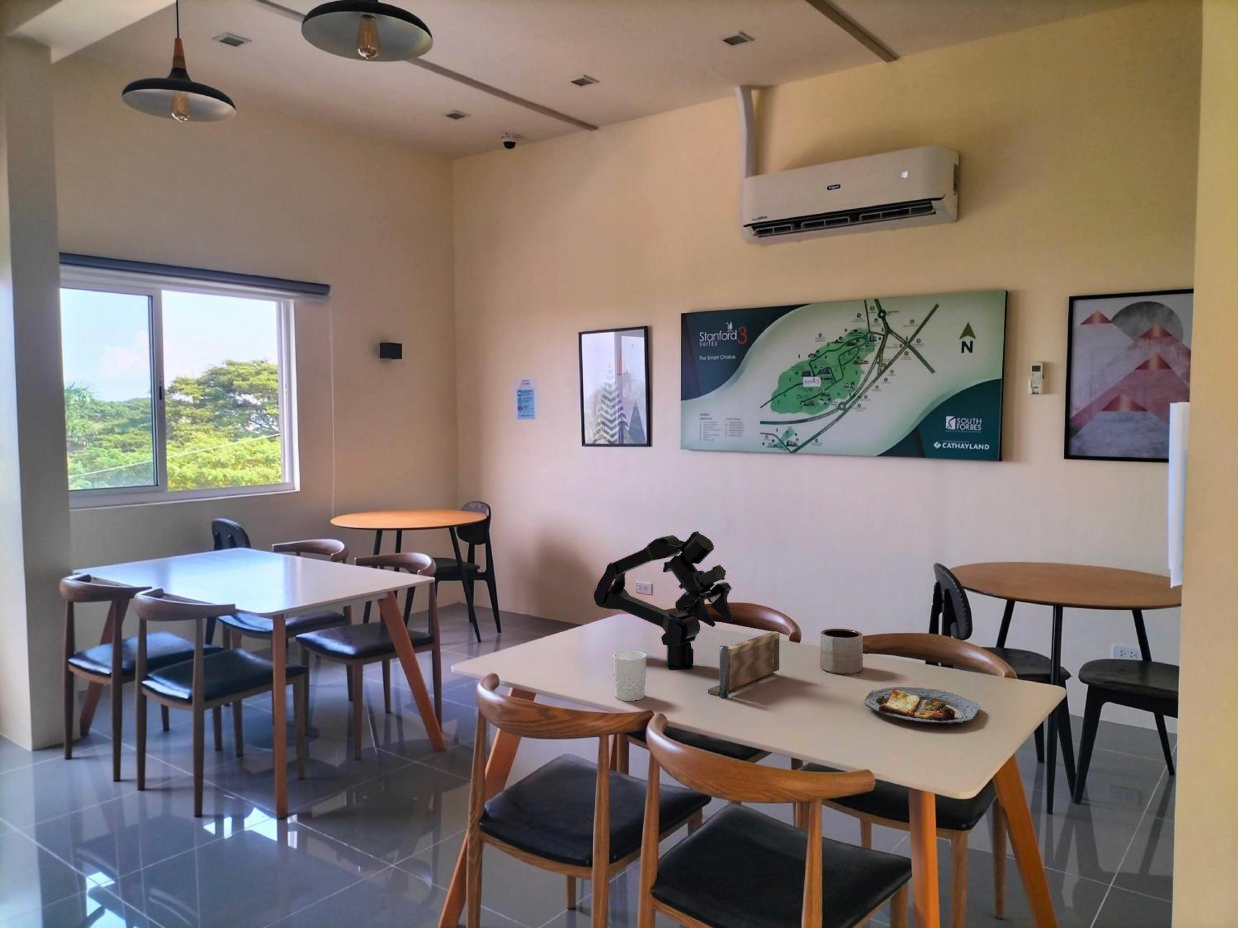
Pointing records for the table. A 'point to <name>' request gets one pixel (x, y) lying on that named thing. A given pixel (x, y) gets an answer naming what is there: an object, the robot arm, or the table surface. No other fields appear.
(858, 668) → the planter
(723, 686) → the gate frame
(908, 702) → the food plate
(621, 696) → the white cup
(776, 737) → the table surface
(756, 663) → the gate leaf
